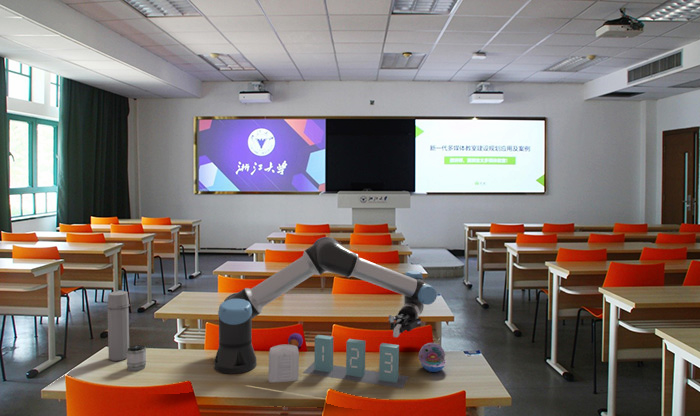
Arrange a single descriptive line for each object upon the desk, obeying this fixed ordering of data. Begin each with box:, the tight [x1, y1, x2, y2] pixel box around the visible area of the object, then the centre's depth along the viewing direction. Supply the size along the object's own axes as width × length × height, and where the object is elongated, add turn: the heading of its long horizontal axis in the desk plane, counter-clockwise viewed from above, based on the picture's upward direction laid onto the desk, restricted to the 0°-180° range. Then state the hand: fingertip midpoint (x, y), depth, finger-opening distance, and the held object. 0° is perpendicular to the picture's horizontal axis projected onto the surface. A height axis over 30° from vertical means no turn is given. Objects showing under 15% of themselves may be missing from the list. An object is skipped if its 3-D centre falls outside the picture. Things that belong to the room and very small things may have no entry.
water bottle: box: [106, 290, 131, 362], centre depth 181 cm, size 9×8×25 cm
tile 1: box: [313, 334, 334, 372], centre depth 171 cm, size 6×3×12 cm, turn 72°
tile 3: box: [378, 342, 400, 383], centre depth 164 cm, size 6×3×12 cm, turn 72°
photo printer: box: [267, 343, 300, 383], centre depth 163 cm, size 10×4×12 cm, turn 103°
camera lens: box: [126, 344, 147, 372], centre depth 172 cm, size 6×6×8 cm
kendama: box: [287, 332, 304, 349], centre depth 187 cm, size 6×6×20 cm
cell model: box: [418, 342, 447, 373], centre depth 173 cm, size 10×12×10 cm
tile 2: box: [345, 338, 366, 377], centre depth 167 cm, size 6×3×12 cm, turn 72°
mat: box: [302, 361, 410, 389], centre depth 168 cm, size 36×10×1 cm, turn 72°
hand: (395, 333), depth 170 cm, fingers closed
